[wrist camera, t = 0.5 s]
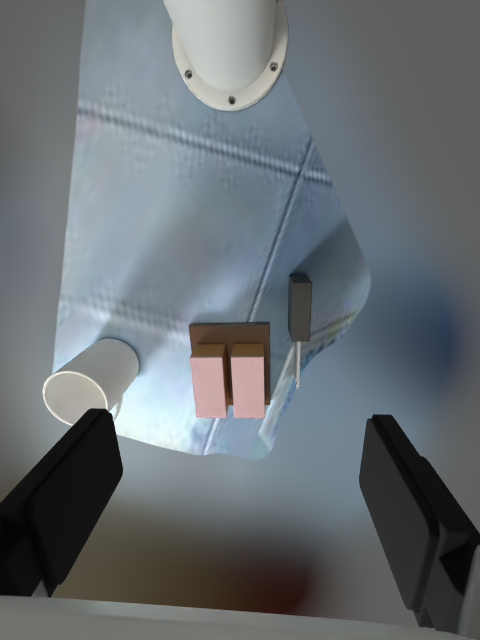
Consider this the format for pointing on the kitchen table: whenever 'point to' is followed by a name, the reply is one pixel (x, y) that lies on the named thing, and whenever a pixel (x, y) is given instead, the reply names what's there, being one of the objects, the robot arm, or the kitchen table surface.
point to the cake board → (235, 335)
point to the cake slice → (248, 380)
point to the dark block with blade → (299, 315)
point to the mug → (91, 381)
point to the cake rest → (210, 380)
